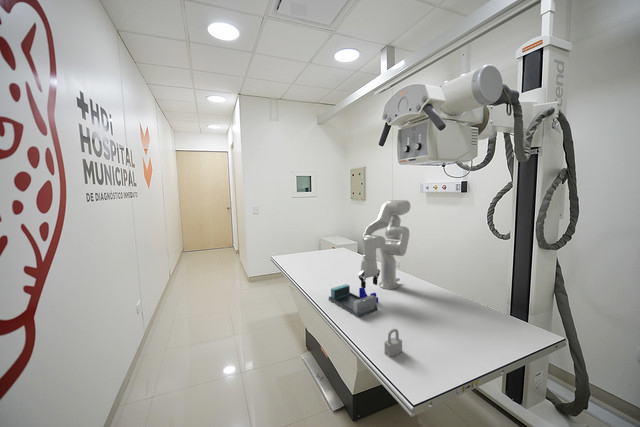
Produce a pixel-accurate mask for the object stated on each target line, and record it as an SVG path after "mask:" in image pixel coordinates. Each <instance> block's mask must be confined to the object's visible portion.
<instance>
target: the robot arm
mask: <svg viewBox="0 0 640 427" xmlns="http://www.w3.org/2000/svg"><path fill="white" fill-rule="evenodd" d="M410 209H411V203H410V201H409V200H406V199H400V200H399V199H393V200H387V201H386V202H383V203H382V204H381V207H380V209H379V212H378V215H377V217H376V220H375V221H373V222H371V223H370V224H369V225H368V226H367V227H366V228H365V230H364V233H363V234H362V237H361V243H362V245H363V246H362V248H363V249H362V253H363V254H362V256H363V257H362V260H361V264H360V272H359V273H358V274H357V276H358V279H359V280H360V288H361V287H363V288H365V289H366V286H367V283H366V280H367V279H369V278H372V284H373V285H375V286H379V287H380V288H382V289H386V290H395V289H398V287H399V284H398V283H397V282H400V281H401V278H400V277H398V278H397V275H396V274H397V273H396V272H397V270H396V265H397V263H396V258H395V256H396V257H397V256H398V257H403V256H405V255H406V253H407V250H408V244H409V239H410V229H409V228H408V227H407V226H402V225H401V221H402V220H401V217H400V216H403V215H405V214H407V213H409V212H410ZM384 228H385V232H384V235H385V237H384V236H381V235H375V234H374V233H375V232H377V231H379V230H382V229H384ZM377 249H379V251H380V265H381V267H380V268H381V269H378V262H377ZM380 274H381V276H380ZM379 276H380V277H381V279H380V280H381V281H380V282H379V283H378V279H379Z"/></svg>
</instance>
